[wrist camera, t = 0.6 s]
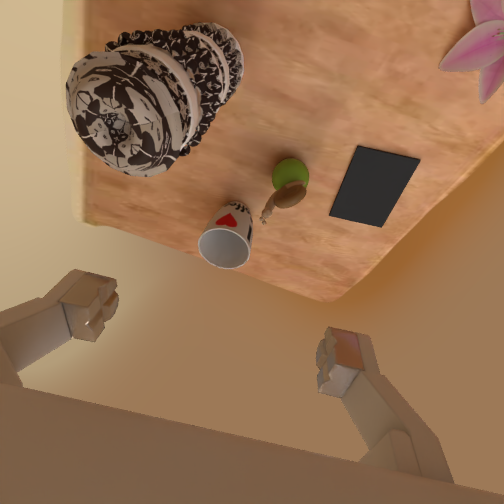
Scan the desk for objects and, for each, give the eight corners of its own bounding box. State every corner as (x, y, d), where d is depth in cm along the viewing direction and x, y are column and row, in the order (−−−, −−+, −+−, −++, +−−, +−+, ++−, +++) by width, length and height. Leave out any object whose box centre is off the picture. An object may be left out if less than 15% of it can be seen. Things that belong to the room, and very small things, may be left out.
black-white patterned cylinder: (237, 7, 33) (144, 20, 15) (254, 95, 39) (201, 184, 21) (166, 27, 36) (7, 60, 17) (191, 108, 41) (92, 198, 23)
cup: (268, 211, 51) (260, 248, 43) (243, 239, 56) (232, 276, 48) (228, 184, 49) (213, 218, 41) (206, 216, 53) (189, 251, 46)
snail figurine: (261, 165, 45) (249, 206, 37) (299, 146, 43) (296, 185, 34) (278, 193, 48) (270, 237, 39) (315, 176, 45) (315, 220, 36)
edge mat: (357, 145, 41) (357, 146, 41) (420, 159, 41) (420, 160, 41) (329, 214, 49) (329, 215, 49) (381, 226, 49) (381, 227, 49)
